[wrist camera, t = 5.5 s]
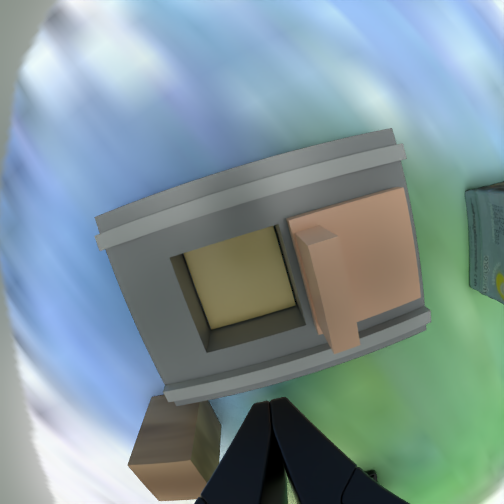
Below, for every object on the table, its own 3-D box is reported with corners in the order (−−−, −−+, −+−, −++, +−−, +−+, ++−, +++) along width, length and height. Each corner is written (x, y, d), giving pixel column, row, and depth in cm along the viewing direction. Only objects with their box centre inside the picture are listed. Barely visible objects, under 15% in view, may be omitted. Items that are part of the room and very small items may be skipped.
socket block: (405, 311, 20) (431, 334, 17) (183, 379, 21) (174, 413, 17) (370, 134, 18) (397, 126, 14) (115, 211, 18) (88, 218, 14)
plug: (221, 425, 22) (217, 497, 15) (173, 433, 22) (159, 501, 15) (201, 387, 21) (190, 460, 14) (151, 396, 21) (127, 465, 14)
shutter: (414, 292, 16) (450, 318, 13) (315, 328, 16) (334, 366, 13) (396, 186, 15) (436, 190, 11) (285, 218, 15) (301, 230, 11)
